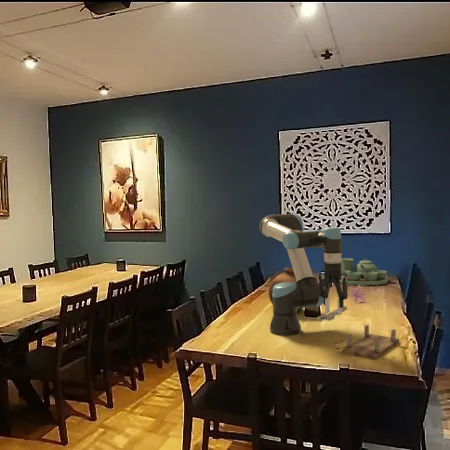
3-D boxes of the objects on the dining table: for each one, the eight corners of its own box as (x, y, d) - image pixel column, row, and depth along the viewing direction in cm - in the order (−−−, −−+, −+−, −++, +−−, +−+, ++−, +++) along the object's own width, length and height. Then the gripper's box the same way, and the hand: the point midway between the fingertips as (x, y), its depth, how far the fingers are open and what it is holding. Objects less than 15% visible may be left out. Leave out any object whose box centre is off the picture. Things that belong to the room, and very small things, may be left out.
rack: (342, 352, 191) (342, 337, 191) (368, 337, 212) (368, 323, 212) (375, 359, 182) (375, 343, 182) (399, 342, 203) (399, 327, 203)
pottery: (262, 310, 270) (261, 267, 269) (294, 305, 281) (293, 264, 279) (284, 318, 250) (283, 272, 248) (318, 312, 260) (317, 268, 259)
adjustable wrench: (342, 309, 218) (342, 305, 219) (355, 309, 214) (354, 305, 214) (315, 321, 200) (315, 317, 200) (328, 321, 196) (328, 317, 196)
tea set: (332, 285, 340) (332, 263, 340) (336, 277, 378) (336, 257, 377) (389, 287, 328) (389, 264, 327) (388, 278, 366) (387, 257, 365)
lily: (344, 304, 283) (349, 292, 278) (345, 293, 293) (350, 281, 288) (364, 310, 281) (369, 298, 276) (363, 299, 291) (369, 287, 286)
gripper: (310, 261, 208) (311, 312, 210) (348, 264, 197) (349, 318, 198) (318, 259, 214) (319, 309, 215) (355, 262, 202) (356, 314, 204)
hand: (333, 313), depth 207 cm, fingers closed on adjustable wrench, 5 cm apart
